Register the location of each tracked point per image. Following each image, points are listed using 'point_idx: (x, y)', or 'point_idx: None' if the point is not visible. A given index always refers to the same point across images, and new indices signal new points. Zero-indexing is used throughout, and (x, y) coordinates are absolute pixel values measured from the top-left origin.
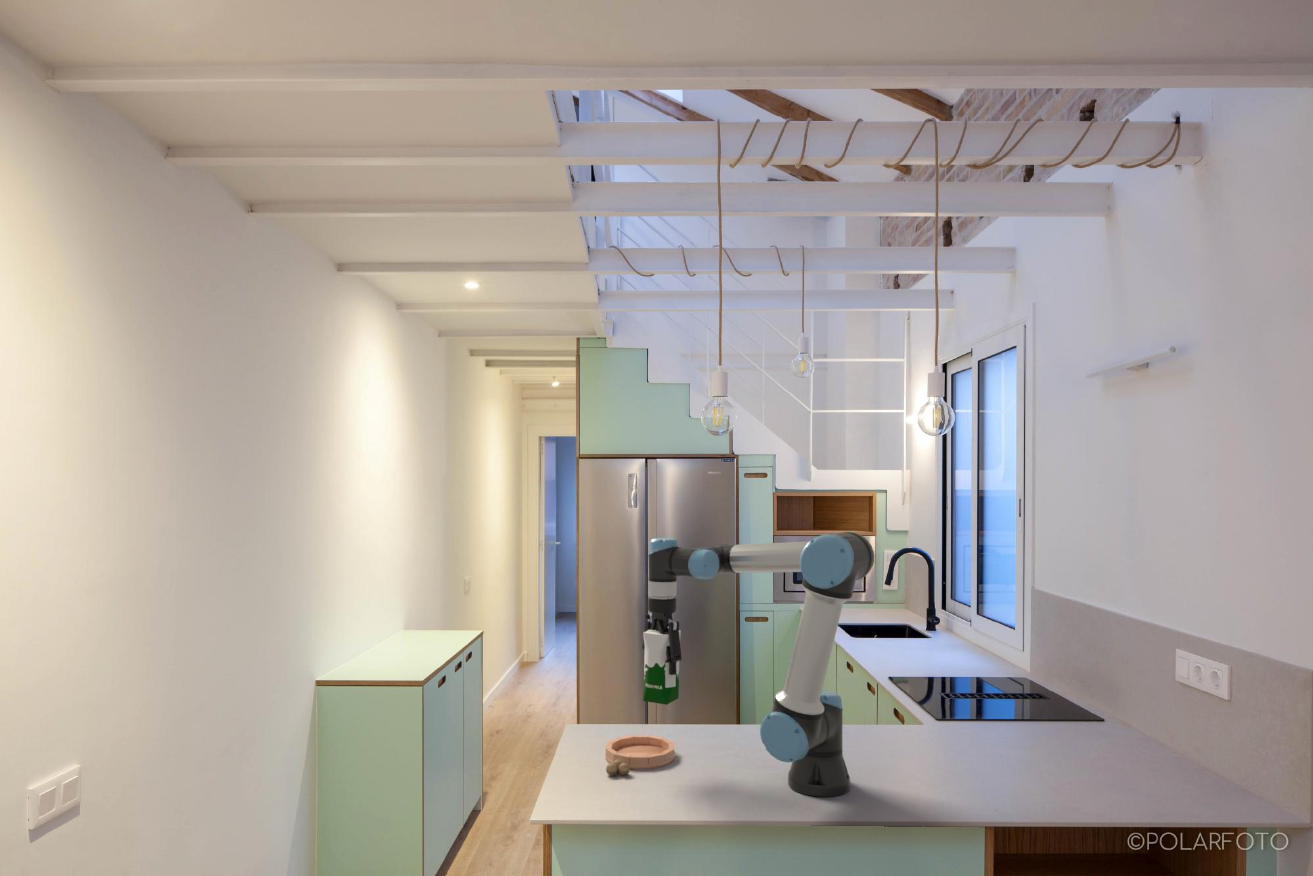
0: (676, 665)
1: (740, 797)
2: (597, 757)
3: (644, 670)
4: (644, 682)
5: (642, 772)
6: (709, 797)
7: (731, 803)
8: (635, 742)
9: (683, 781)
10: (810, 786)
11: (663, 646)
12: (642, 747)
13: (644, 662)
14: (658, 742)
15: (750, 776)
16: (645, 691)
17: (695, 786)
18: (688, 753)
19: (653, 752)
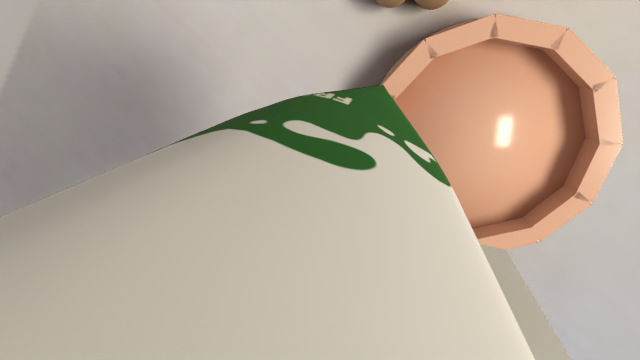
0: None
1: (87, 132)
2: (597, 24)
3: (420, 171)
4: (392, 124)
5: (369, 55)
6: (120, 74)
7: (67, 89)
8: (561, 191)
9: (240, 100)
10: None
11: None
12: (515, 184)
13: (452, 230)
14: (486, 231)
15: None
16: (351, 90)
17: (195, 100)
18: None
19: (452, 177)
